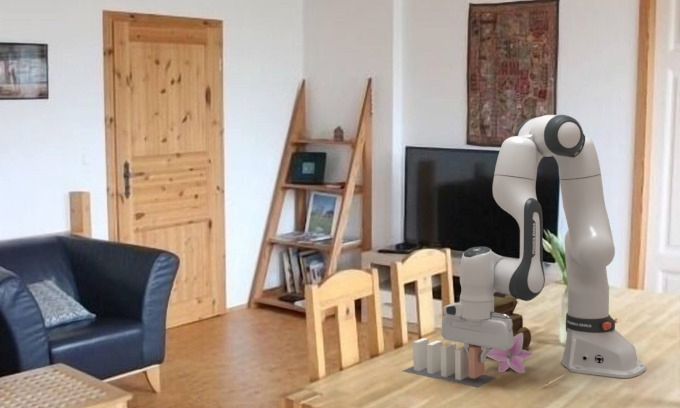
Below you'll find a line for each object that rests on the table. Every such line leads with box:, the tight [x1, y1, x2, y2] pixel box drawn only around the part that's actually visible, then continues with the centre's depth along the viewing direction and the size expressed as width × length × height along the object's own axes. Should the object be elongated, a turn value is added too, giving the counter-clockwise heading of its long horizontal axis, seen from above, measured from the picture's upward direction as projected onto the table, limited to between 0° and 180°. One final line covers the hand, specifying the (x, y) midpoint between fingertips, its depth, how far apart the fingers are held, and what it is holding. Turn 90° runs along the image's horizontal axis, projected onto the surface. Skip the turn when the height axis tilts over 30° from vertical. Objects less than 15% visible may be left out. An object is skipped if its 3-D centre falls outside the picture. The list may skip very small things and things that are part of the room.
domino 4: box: [455, 345, 469, 380], centre depth 246 cm, size 2×5×8 cm, turn 140°
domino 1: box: [412, 337, 430, 371], centre depth 255 cm, size 2×5×8 cm, turn 140°
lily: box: [486, 333, 534, 374], centre depth 254 cm, size 12×12×10 cm
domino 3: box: [441, 342, 457, 377], centre depth 249 cm, size 2×5×8 cm, turn 140°
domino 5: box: [469, 345, 485, 378], centre depth 243 cm, size 2×5×8 cm, turn 140°
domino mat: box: [402, 365, 497, 388], centre depth 249 cm, size 24×10×1 cm, turn 50°
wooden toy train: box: [471, 295, 532, 351], centre depth 271 cm, size 20×11×17 cm, turn 138°
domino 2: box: [427, 339, 443, 374], centre depth 252 cm, size 2×5×8 cm, turn 140°
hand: (476, 361), depth 243 cm, fingers closed on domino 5, 2 cm apart
